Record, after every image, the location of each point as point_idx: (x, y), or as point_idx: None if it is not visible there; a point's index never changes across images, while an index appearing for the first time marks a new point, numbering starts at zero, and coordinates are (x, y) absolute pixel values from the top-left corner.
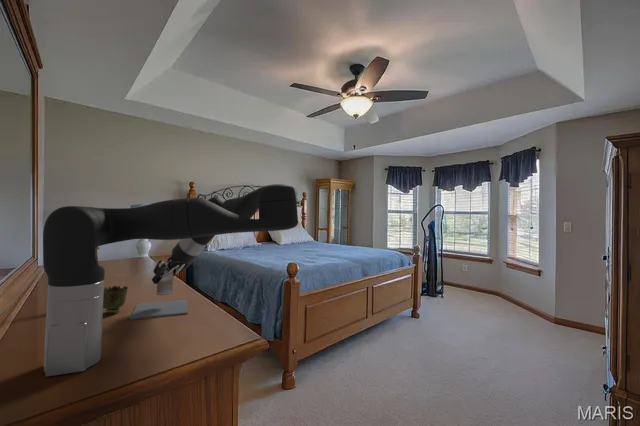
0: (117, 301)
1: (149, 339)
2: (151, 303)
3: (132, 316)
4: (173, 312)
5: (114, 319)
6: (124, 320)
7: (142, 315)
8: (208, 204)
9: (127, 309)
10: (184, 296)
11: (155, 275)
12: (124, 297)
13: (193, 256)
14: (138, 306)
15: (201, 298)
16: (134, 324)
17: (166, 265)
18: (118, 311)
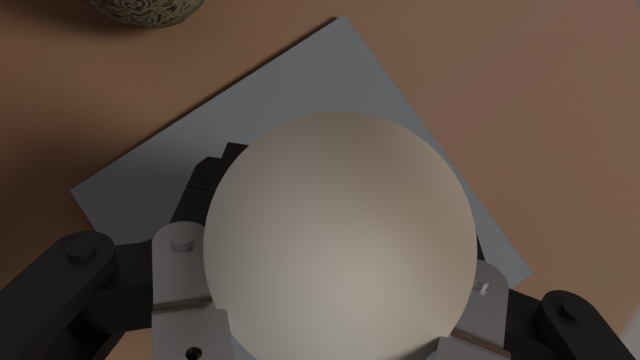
0: (100, 12)
1: None
2: (367, 97)
3: (93, 187)
4: None
5: (62, 101)
6: (58, 170)
7: (124, 233)
8: None
9: (247, 26)
10: (623, 169)
11: (178, 212)
12: (150, 13)
13: None
14: (285, 67)
15: (622, 325)
16: (6, 282)
17: (242, 344)
18: (170, 25)
